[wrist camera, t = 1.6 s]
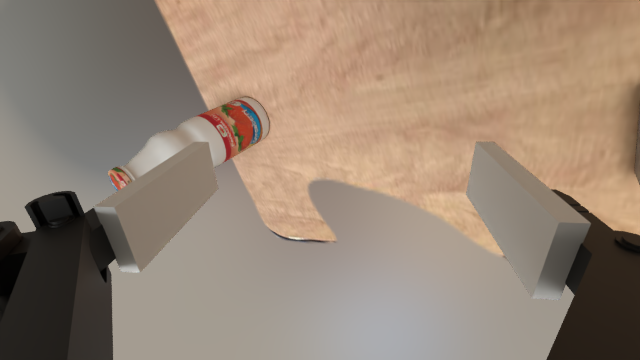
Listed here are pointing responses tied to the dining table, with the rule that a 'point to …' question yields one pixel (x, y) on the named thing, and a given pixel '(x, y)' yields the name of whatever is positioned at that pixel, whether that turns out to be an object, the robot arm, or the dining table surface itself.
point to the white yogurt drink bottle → (200, 138)
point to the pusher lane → (638, 152)
